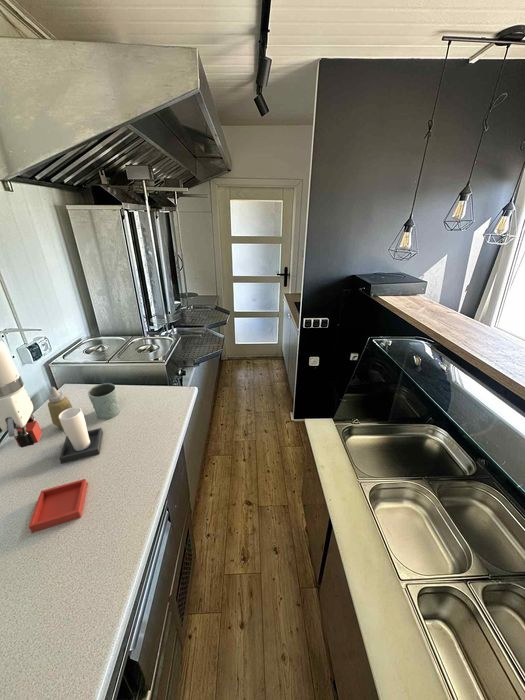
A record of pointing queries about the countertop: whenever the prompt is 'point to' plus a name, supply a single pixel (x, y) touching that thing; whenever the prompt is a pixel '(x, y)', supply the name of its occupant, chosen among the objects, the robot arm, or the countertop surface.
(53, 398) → the squeeze bottle
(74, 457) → the graphite tray
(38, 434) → the red block
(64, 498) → the red tray
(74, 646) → the countertop surface
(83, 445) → the drinking glass
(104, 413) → the green pot
